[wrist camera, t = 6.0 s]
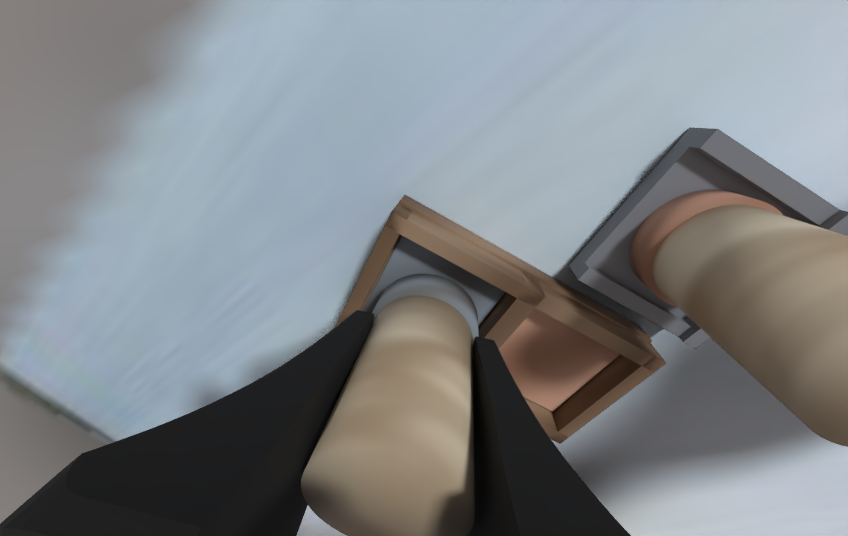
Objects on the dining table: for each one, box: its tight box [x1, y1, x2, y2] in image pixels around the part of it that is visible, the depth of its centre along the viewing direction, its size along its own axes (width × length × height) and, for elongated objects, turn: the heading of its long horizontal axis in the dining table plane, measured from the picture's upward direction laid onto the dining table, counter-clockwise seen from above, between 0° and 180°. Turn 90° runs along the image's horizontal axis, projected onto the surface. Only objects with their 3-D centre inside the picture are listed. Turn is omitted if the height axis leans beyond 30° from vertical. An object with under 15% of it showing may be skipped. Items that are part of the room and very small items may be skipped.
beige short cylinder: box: [630, 189, 848, 447], centre depth 8 cm, size 4×4×6 cm
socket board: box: [336, 195, 666, 443], centre depth 14 cm, size 12×6×2 cm, turn 62°
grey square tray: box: [569, 128, 848, 349], centre depth 11 cm, size 6×6×2 cm
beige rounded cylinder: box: [301, 274, 479, 536], centre depth 9 cm, size 4×4×6 cm
